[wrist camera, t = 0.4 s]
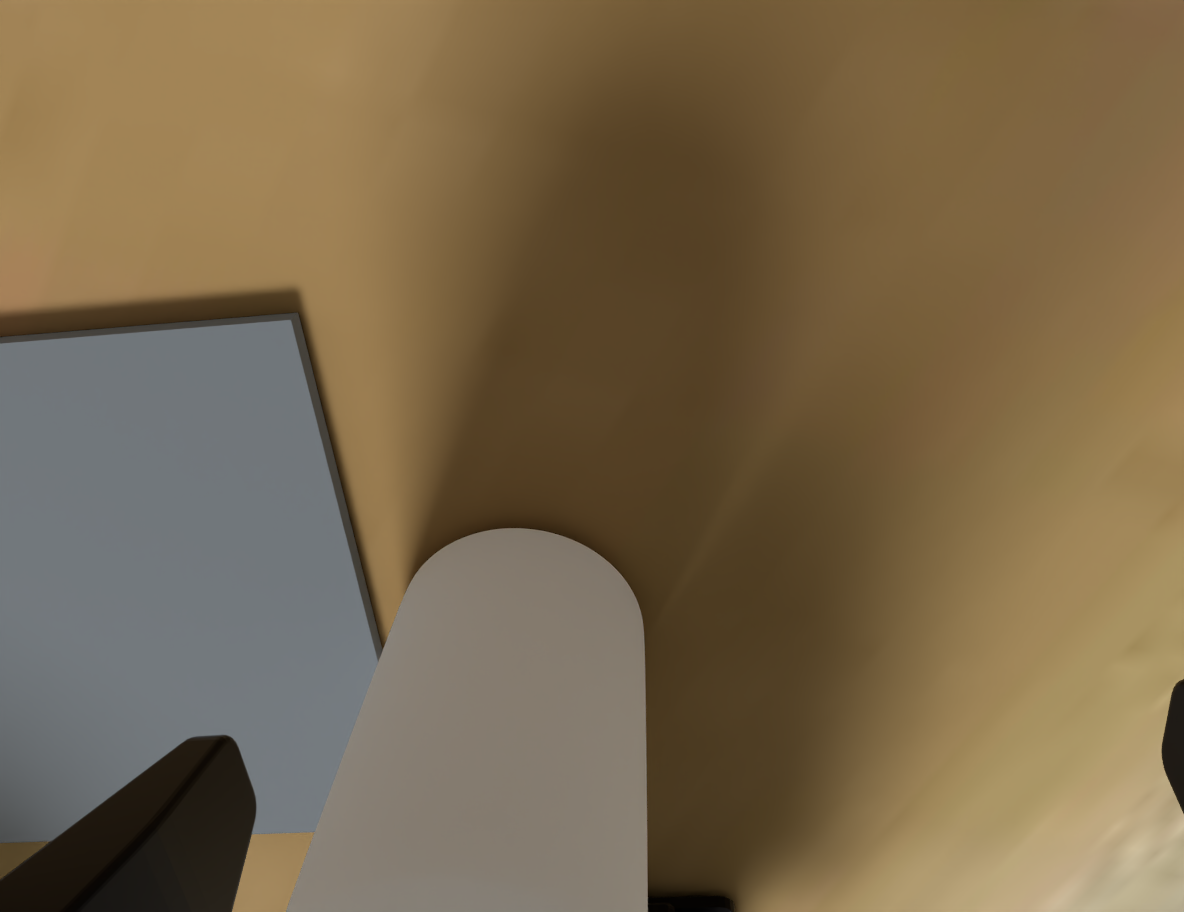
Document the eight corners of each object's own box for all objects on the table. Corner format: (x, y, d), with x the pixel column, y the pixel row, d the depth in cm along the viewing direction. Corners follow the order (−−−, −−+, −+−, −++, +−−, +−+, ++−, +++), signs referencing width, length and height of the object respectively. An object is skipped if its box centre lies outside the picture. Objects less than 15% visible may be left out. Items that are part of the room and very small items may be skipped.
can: (569, 747, 27) (524, 1247, 17) (364, 651, 26) (173, 1127, 15) (692, 590, 25) (733, 1066, 14) (470, 475, 23) (329, 903, 13)
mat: (423, 815, 29) (420, 828, 28) (-10, 830, 30) (-20, 843, 29) (297, 312, 22) (291, 319, 21) (-268, 359, 23) (-286, 367, 22)
